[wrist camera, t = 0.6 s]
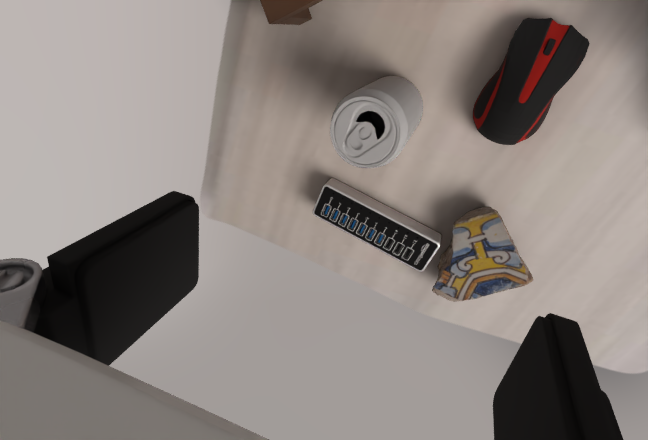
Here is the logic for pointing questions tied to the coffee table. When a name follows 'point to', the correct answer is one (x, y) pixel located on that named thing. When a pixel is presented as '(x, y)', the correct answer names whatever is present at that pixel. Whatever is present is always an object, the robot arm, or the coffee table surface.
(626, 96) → the coffee table surface
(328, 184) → the multiport hub
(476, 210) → the ceramic tile fragment
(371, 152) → the beverage can
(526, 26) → the computer mouse
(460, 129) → the coffee table surface
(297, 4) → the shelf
